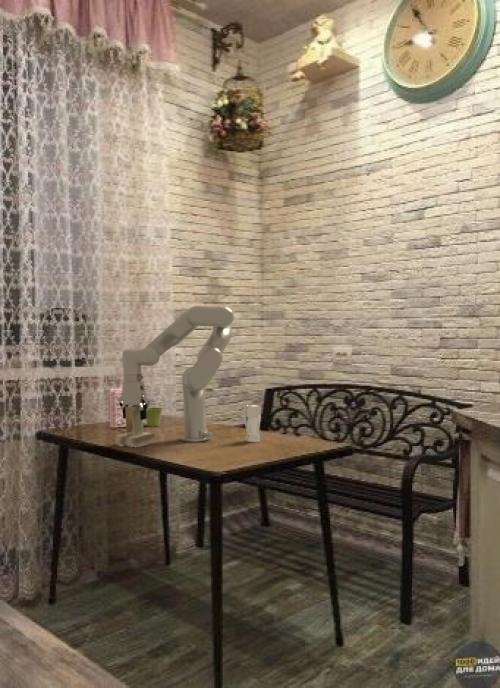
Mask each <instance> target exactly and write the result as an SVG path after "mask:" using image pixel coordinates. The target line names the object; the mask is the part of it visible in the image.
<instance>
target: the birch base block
mask: <svg viewBox="0 0 500 688" xmlns="http://www.w3.org/2000/svg"><path fill="white" fill-rule="evenodd" d="M155 442H156V441H155V433H154V432H144V434H140V435H136V436H129V435H127V434H126V432H125V433H121V434H118V435H116V434H115V435H113V446H114V445H119V446H118V447H123V446H127V447H126V448H132V447H135V448H134V449H137V448H140V447H143V446H149V445H151V444H155ZM136 447H137V448H136Z"/></svg>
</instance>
